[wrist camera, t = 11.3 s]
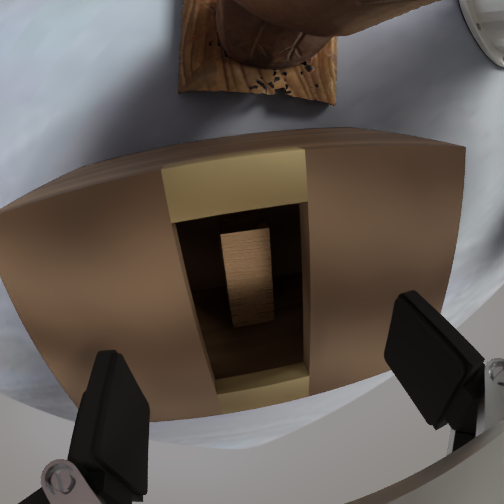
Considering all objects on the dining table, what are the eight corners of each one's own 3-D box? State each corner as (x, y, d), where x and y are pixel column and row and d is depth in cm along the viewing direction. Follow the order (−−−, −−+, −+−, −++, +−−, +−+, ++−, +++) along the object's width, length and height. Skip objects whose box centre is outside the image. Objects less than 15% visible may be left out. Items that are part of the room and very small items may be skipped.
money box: (80, 167, 18) (-20, 221, 8) (347, 127, 21) (465, 147, 10) (121, 306, 24) (90, 423, 13) (347, 266, 26) (426, 355, 15)
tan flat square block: (224, 279, 23) (214, 203, 20) (256, 274, 23) (249, 198, 21) (233, 327, 18) (220, 234, 15) (274, 320, 18) (269, 227, 15)
